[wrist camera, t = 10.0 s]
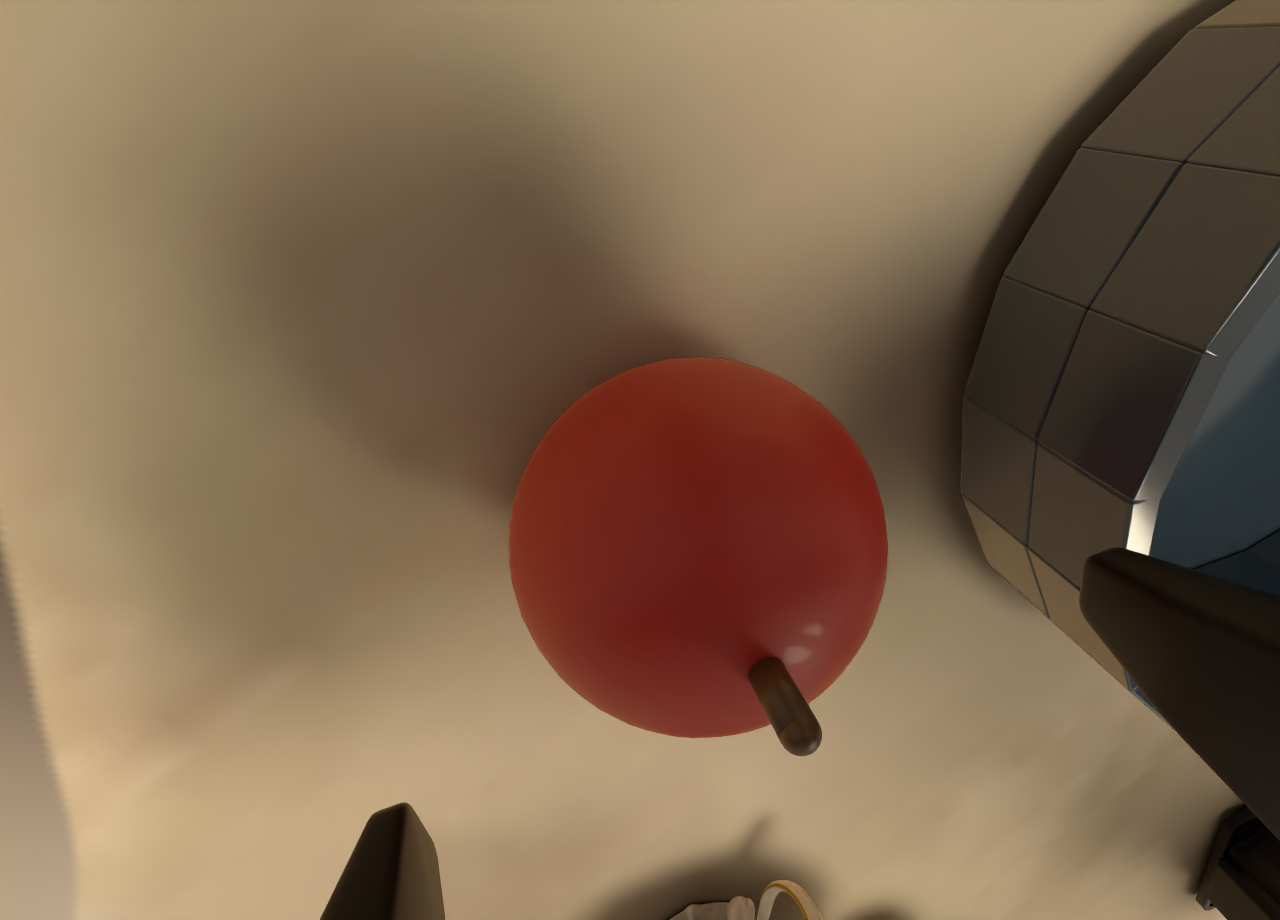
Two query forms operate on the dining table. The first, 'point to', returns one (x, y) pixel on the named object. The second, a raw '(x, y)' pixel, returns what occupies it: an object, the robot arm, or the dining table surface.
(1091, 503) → the bowl
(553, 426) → the apple
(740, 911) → the chinaware
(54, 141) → the dining table surface
